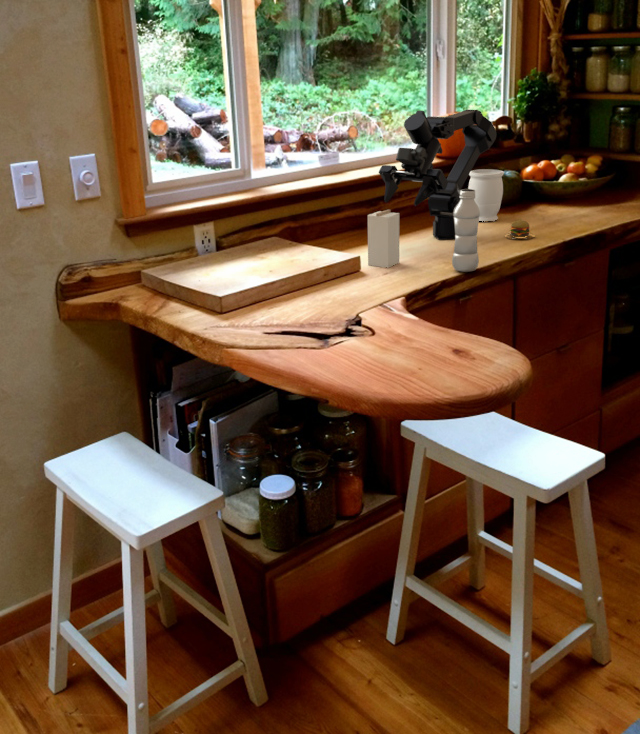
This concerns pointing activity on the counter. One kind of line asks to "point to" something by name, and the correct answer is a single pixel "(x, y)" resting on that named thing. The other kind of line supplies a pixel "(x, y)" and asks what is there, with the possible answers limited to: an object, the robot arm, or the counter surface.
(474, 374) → the counter surface
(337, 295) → the counter surface
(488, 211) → the jar
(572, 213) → the counter surface
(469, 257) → the plastic bottle
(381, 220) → the tall white block
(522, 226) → the hamburger
